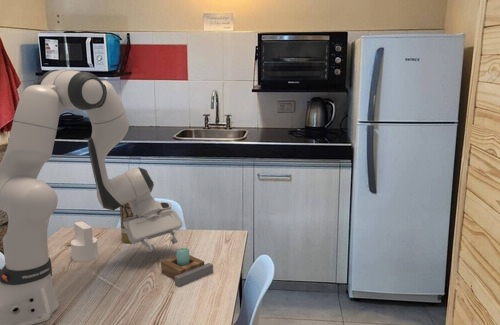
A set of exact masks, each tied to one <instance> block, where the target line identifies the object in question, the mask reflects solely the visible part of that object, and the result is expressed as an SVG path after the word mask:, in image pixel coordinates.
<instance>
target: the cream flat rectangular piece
mask: <svg viewBox="0 0 500 325" xmlns="http://www.w3.org/2000/svg"><path fill="white" fill-rule="evenodd" d="M213 273H214V264H213V263H210V262H208V263H207V262H206V263H204V265H202V266H200V267H197V268H195V269H192V270H189V271H187V272H184V273H182V274H179V275H177V276H175V280H174V286H176V287H177V288H180V287H183V286H186V285H188V284H190V283H192V282H195V281H198V280H200V279H202V278H205V277H207V276H209V275H211V274H213Z"/></svg>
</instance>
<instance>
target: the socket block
mask: <svg viewBox="0 0 500 325" xmlns="http://www.w3.org/2000/svg"><path fill="white" fill-rule="evenodd" d="M202 265H205V260H202V259H200V258H197V257H195V256H194V255H190V254H189V264H187V265H184V266H182V267H181V266H178V265H177V255H176V256H173V257H170V258H168V259H165V260H162V261H160V266H161V268H160V271H161V274H162V275H164V276H166V277H168V278H170V279H173V280H174V281H175V276H177V275H179V274H182V273H184V272H187V271H189V270H192V269H195V268H197V267H200V266H202Z"/></svg>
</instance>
